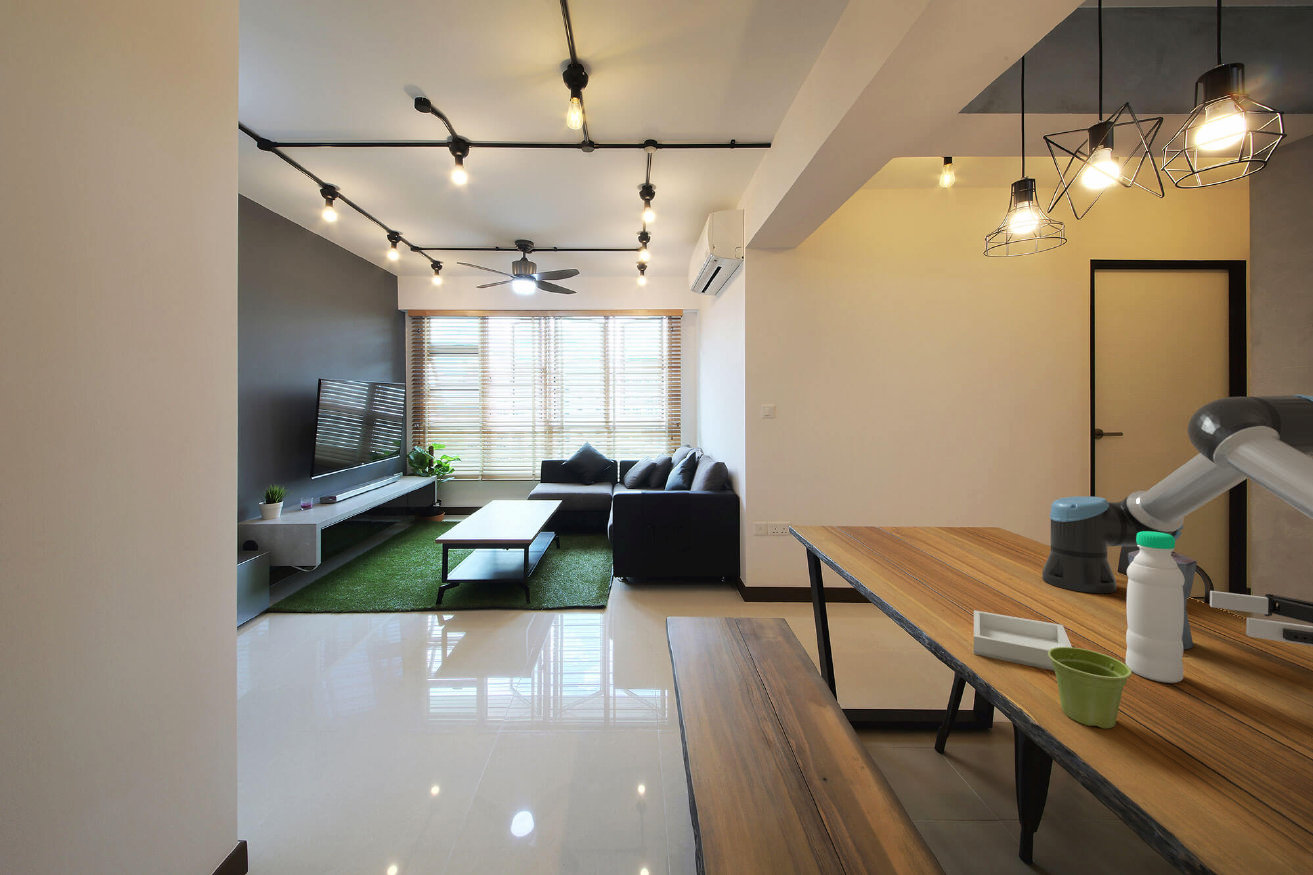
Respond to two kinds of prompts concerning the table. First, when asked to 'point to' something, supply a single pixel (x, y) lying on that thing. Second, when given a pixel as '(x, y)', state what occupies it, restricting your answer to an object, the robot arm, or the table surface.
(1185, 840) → the table surface
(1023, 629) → the white tray
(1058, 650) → the plant pot
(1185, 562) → the moka pot
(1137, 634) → the water bottle
